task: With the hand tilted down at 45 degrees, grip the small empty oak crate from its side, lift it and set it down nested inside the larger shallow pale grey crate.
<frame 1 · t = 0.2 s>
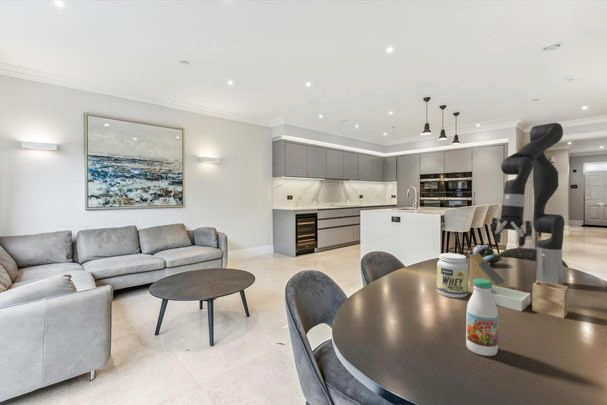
hand: (509, 244, 122), 23 cm above the table, tool pointing down, fingers open, 8 cm apart
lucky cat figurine: (484, 265, 177), on the table
milk bottle: (481, 350, 85), on the table
supplement tub: (452, 294, 129), on the table
oak crate: (549, 312, 109), on the table
sandwich container: (491, 289, 135), on the table
grey crate: (504, 301, 119), on the table
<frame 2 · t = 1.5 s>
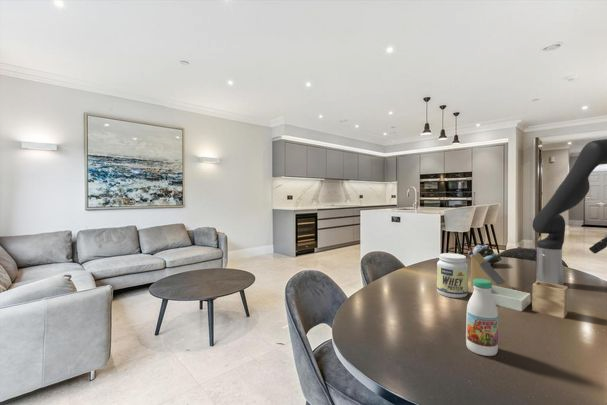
hand: (593, 249, 99), 25 cm above the table, tool tilted 45°, fingers open, 8 cm apart
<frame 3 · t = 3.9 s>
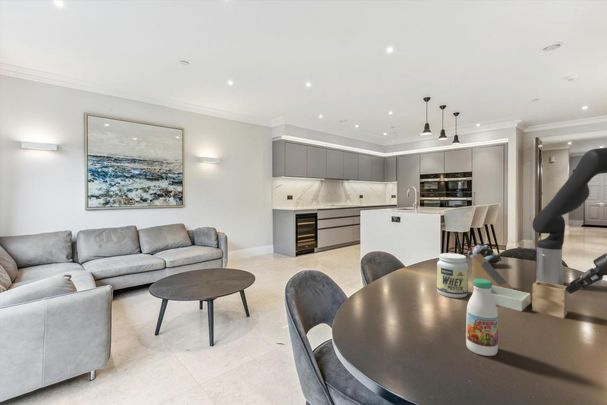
hand: (569, 288, 105), 10 cm above the table, tool tilted 45°, fingers open, 8 cm apart
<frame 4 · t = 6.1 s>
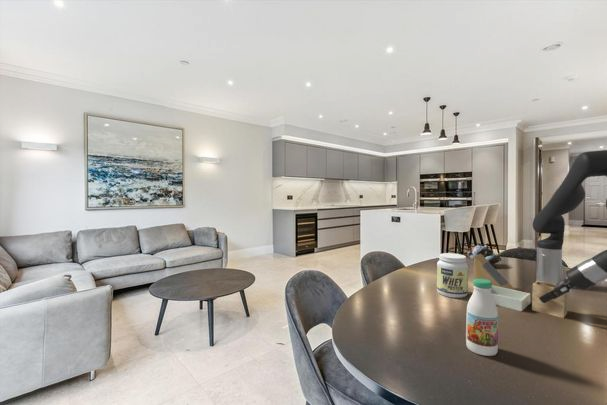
hand: (543, 298, 110), 5 cm above the table, tool tilted 45°, fingers closed on oak crate, 6 cm apart
oak crate: (549, 311, 109), on the table, touching gripper
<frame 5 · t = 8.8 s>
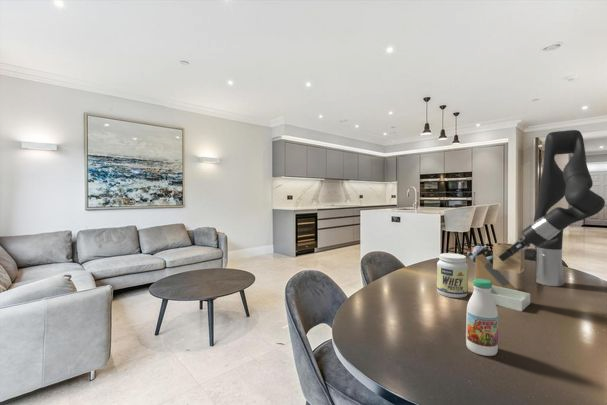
hand: (503, 257, 119), 18 cm above the table, tool tilted 45°, fingers closed on oak crate, 6 cm apart
oak crate: (508, 269, 118), point 13 cm above the table, touching gripper
when the fingers open (7 cm above the table, at t = 11.5 s): oak crate drops 2 cm, resting on grey crate.
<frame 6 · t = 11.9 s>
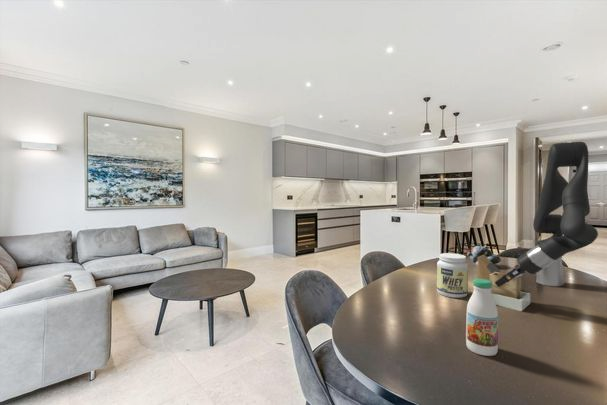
hand: (500, 282, 120), 8 cm above the table, tool tilted 45°, fingers open, 8 cm apart
oak crate: (504, 300, 119), point 1 cm above the table, touching grey crate
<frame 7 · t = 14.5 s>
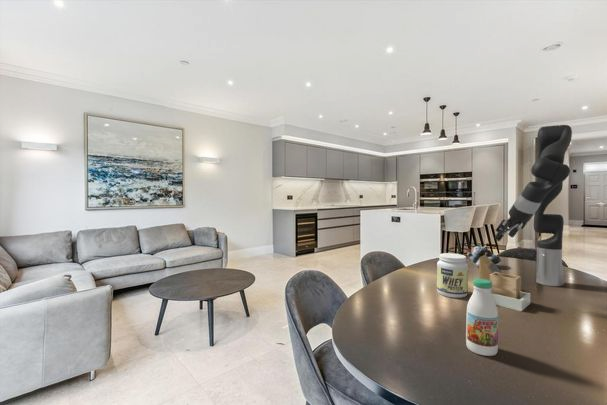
hand: (503, 237, 125), 25 cm above the table, tool tilted 35°, fingers open, 8 cm apart
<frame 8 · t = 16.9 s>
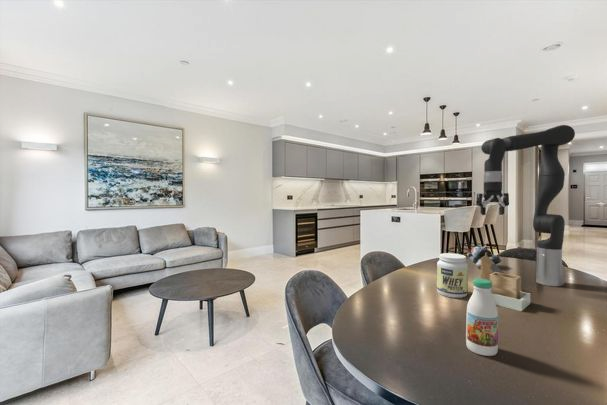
hand: (492, 214, 142), 33 cm above the table, tool pointing down, fingers open, 8 cm apart
at the end: oak crate 0.2 cm from the grey crate (horizontally); oak crate tilted 0°; the gripper is holding nothing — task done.
